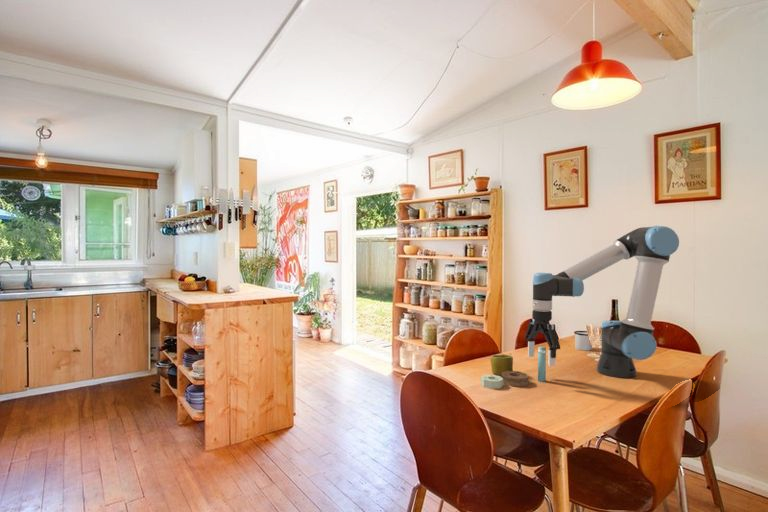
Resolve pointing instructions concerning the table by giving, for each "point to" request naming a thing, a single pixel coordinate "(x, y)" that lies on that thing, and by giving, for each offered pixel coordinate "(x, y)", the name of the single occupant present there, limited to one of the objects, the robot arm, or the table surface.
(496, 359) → the mug
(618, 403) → the table surface
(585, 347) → the mug
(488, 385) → the bead
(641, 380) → the table surface
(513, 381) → the brown ring
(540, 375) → the teal cylinder
